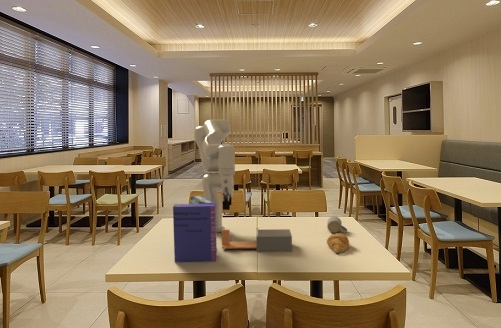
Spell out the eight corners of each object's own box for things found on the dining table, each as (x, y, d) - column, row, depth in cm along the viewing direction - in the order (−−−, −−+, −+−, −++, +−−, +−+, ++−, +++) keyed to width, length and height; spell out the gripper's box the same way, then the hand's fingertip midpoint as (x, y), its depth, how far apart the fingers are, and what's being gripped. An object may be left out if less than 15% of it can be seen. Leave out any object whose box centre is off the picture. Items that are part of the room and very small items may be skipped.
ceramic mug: (326, 233, 195) (327, 219, 195) (327, 229, 203) (327, 215, 203) (347, 234, 193) (348, 220, 192) (347, 230, 201) (347, 216, 200)
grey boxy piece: (256, 251, 167) (256, 235, 166) (256, 243, 179) (256, 227, 179) (291, 251, 167) (291, 234, 166) (289, 243, 179) (289, 227, 178)
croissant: (343, 263, 162) (352, 248, 160) (323, 251, 163) (331, 236, 162) (344, 247, 182) (352, 233, 180) (326, 236, 184) (334, 223, 182)
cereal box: (216, 257, 160) (215, 203, 158) (216, 261, 156) (214, 205, 153) (176, 258, 160) (175, 203, 158) (174, 262, 155) (172, 206, 153)
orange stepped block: (221, 248, 169) (220, 232, 168) (222, 242, 178) (222, 227, 177) (256, 248, 169) (256, 232, 168) (256, 242, 177) (256, 227, 177)
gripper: (233, 174, 164) (233, 211, 166) (236, 169, 181) (236, 203, 183) (216, 174, 164) (217, 211, 166) (221, 169, 181) (221, 203, 183)
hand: (227, 207), depth 174 cm, fingers open, 9 cm apart
